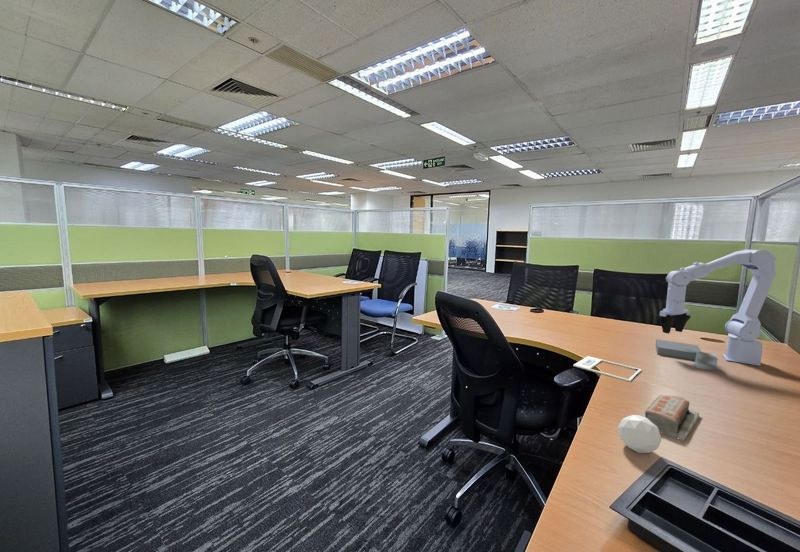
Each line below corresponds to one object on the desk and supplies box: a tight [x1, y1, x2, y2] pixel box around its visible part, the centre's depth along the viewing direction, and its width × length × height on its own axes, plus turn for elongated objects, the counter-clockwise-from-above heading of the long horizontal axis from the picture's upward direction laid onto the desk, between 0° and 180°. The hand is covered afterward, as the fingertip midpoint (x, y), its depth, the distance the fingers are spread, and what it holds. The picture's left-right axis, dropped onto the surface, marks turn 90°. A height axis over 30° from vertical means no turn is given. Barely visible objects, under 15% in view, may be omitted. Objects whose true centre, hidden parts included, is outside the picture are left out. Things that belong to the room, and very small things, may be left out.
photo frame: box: [573, 355, 642, 382], centre depth 122 cm, size 15×1×18 cm
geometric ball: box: [617, 414, 662, 454], centre depth 74 cm, size 8×8×8 cm
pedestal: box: [655, 338, 702, 361], centre depth 139 cm, size 14×14×3 cm
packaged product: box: [640, 394, 700, 441], centre depth 87 cm, size 18×5×10 cm
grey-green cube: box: [694, 351, 719, 372], centre depth 123 cm, size 5×5×5 cm
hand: (672, 332), depth 137 cm, fingers open, 7 cm apart
